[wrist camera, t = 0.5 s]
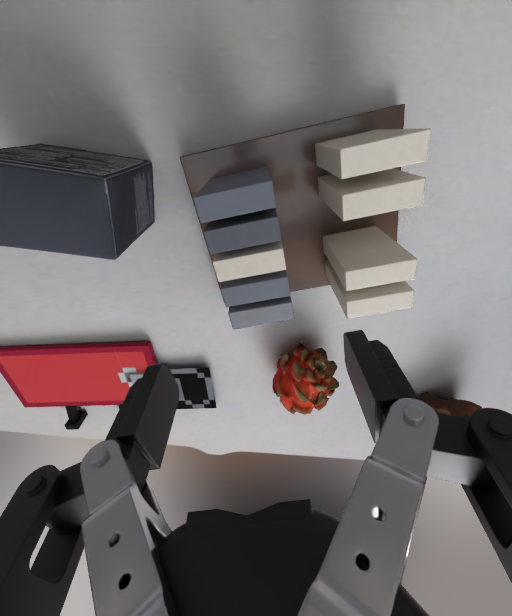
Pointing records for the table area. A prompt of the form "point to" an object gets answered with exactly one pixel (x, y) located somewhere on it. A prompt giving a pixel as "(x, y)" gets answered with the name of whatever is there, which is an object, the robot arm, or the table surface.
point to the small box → (73, 200)
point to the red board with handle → (92, 376)
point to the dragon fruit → (304, 379)
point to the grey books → (245, 243)
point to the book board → (297, 187)
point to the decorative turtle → (450, 405)
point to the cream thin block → (249, 261)
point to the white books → (366, 202)
